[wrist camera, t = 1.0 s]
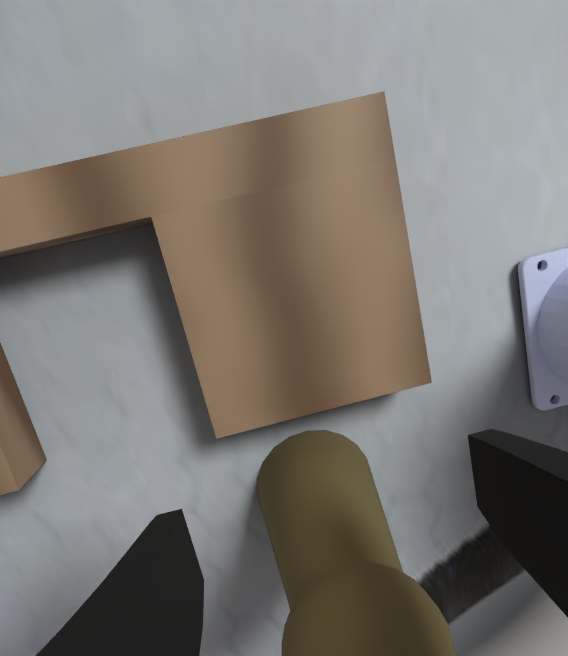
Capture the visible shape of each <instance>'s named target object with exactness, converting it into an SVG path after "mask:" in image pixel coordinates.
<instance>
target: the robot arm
mask: <svg viewBox="0 0 568 656" xmlns="http://www.w3.org/2000/svg"><path fill="white" fill-rule="evenodd" d="M539 261H541V263H542V266H541V268H540V269H539V270H538V268H537V264H538V263H539ZM518 276H519V285H520V294H521V303H522V313H523V322H524V331H525V340H526V350H527V359H528V368H529V377H530V387H531V396H532V403H533V405H534V406H535V407H536V408H537V409H539V410H542V411H546V410H550V409H554V408H557V407H561V406H565V405H568V247H567V248H563V249H559V250H555V251H551V252H547V253H543V254H539V255H535V256H531V257H527V258H525V259H523V260H522V261H521V262H520V263H519V266H518ZM553 395H554V399H553V400H552V401H550V399H551V397H552V396H553ZM468 440H469V447H470V454H471V462H472V469H473V477H474V484H475V491H476V499H477V506H478V508H479V510H480V511H481V513H482V514H483V516H484V517H485V519H486V520H487V522H488V523H489V524H490V526H491V527H492V529H493V530H494V532H495V533H496V534H497V536H498V537H499V539H500V540H501V541H502V543H503V544H504V545H505V547H506V548H507V549H508V550H509V551H510V552H511V554H512V555H513V556H514V557H515V558H516V559H517V560H518V562H519V563H520V564H521V565H522V566H523V567H524V568H525V570H526V571H527V572H528V573H529V574H530V575H531V576H532V577H533V579H534V580H535V581H536V582H537V583H538V584H539V585H540V587H541V588H542V589H543V590H544V591H545V592H546V593H547V594H548V596H549V597H550V598H551V599H552V600H553V601H554V602H555V603H556V605H557V606H558V607H559V608H560V609H561V610H562V611H563V612H564V614H565V615H566V616H567V617H568V452H565V451H562V450H559V449H556V448H553V447H550V446H547V445H544V444H540V443H537V442H534V441H531V440H528V439H525V438H522V437H519V436H515V435H512V434H509V433H505V432H501V431H497V430H493V429H490V430H486V431H482V432H478V433H474V434H470V435H468ZM203 606H204V579H203V575H202V572H201V569H200V566H199V563H198V559H197V556H196V553H195V550H194V547H193V543H192V540H191V537H190V534H189V531H188V527H187V524H186V521H185V518H184V515H183V511H182V509H179V510H175V511H171V512H167V513H163V514H160V515H156V517H155V518H154V519H153V520H152V521H151V522H150V523H149V525H148V526H147V527H146V528H145V530H144V531H143V532H142V533H141V535H140V536H139V537H138V538H137V540H136V541H135V542H134V543H133V545H132V546H131V547H130V548H129V550H128V551H127V552H126V554H125V555H124V556H123V557H122V558H121V560H120V561H119V562H118V563H117V565H116V566H115V567H114V568H113V570H112V571H111V572H110V573H109V575H108V576H107V577H106V578H105V579H104V581H103V582H102V583H101V584H100V585H99V587H98V588H97V589H96V590H95V591H94V592H93V593H92V595H91V596H90V597H89V598H88V599H87V600H86V601H85V603H84V604H83V605H82V606H81V607H80V608H79V609H78V611H77V612H76V613H75V614H74V615H73V616H72V617H71V619H70V620H69V621H68V622H67V623H66V624H65V625H64V627H63V628H62V629H61V630H60V631H59V632H58V633H57V634H56V635H55V636H54V637H53V638H52V639H51V640H50V641H49V643H48V644H47V645H46V646H45V647H44V648H43V649H42V650H41V651H40V652H39V653H38V654H37V655H36V656H199V651H200V644H201V636H202V628H203Z"/></svg>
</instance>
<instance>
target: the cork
mask: <svg viewBox="0 0 568 656" xmlns="http://www.w3.org/2000/svg"><path fill="white" fill-rule="evenodd" d="M257 495H258V499H259V502H260V506H261V509H262V513H263V516H264V520H265V523H266V527H267V530H268V534H269V537H270V541H271V544H272V547H273V551H274V554H275V558H276V561H277V565H278V568H279V572H280V575H281V579H282V582H283V586H284V589H285V593H286V596H287V600H288V603H289V607H290V613H289V615H288V618H287V621H286V623H285V627H284V633H283V639H282V656H457V655H456V651H455V648H454V644H453V640H452V637H451V633H450V629H449V626H448V624H447V622H446V621H445V619H444V617H443V615H442V613H441V612H440V610H439V608H438V607H437V606H436V604H435V603H434V602H433V601H432V599H431V598H430V597H429V595H428V594H427V593H426V592H425V591H424V589H423V588H422V587H421V586H420V585H419V584H418V583H417V582H416V581H415V580H414V579H412V578H411V577H409V576H408V575H406V574H404V573H403V570H402V567H401V564H400V561H399V558H398V555H397V552H396V548H395V545H394V542H393V539H392V536H391V533H390V530H389V527H388V523H387V520H386V517H385V514H384V511H383V508H382V505H381V501H380V498H379V495H378V492H377V489H376V486H375V483H374V480H373V476H372V473H371V470H370V467H369V464H368V461H367V458H366V456H365V455H364V454H363V452H362V451H361V450H360V448H359V447H358V446H357V444H355V443H354V442H352V441H351V440H349V439H348V438H346V437H345V436H343V435H341V434H337V433H334V432H330V431H326V430H319V431H305V432H302V433H299V434H296V435H293V436H290V437H288V438H287V439H286V440H284V441H283V442H281V443H280V444H279V445H277V446H276V447H274V448H273V450H272V451H271V452H270V454H269V455H268V456H267V458H266V459H265V460H264V461H263V464H262V467H261V470H260V472H259V475H258V478H257Z"/></svg>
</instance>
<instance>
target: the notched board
mask: <svg viewBox="0 0 568 656" xmlns="http://www.w3.org/2000/svg"><path fill="white" fill-rule="evenodd" d="M150 223H153V224H154V228H155V231H156V235H157V238H158V242H159V245H160V248H161V252H162V255H163V259H164V262H165V265H166V269H167V272H168V276H169V279H170V282H171V286H172V289H173V293H174V296H175V300H176V303H177V306H178V310H179V313H180V317H181V320H182V323H183V327H184V330H185V334H186V337H187V341H188V344H189V347H190V351H191V354H192V358H193V361H194V364H195V368H196V371H197V375H198V378H199V381H200V385H201V388H202V392H203V395H204V399H205V402H206V405H207V409H208V412H209V416H210V419H211V422H212V426H213V429H214V433H215V436H216V439H217V438H221V437H225V436H229V435H233V434H237V433H240V432H244V431H248V430H252V429H256V428H260V427H263V426H267V425H271V424H275V423H279V422H283V421H286V420H290V419H294V418H298V417H302V416H306V415H309V414H313V413H317V412H321V411H325V410H329V409H332V408H336V407H340V406H344V405H348V404H352V403H355V402H359V401H363V400H367V399H371V398H375V397H378V396H382V395H386V394H390V393H394V392H398V391H401V390H405V389H409V388H413V387H417V386H421V385H424V384H428V383H432V381H431V375H430V369H429V363H428V357H427V351H426V344H425V338H424V332H423V326H422V320H421V314H420V308H419V302H418V295H417V289H416V283H415V277H414V271H413V265H412V259H411V252H410V246H409V240H408V234H407V228H406V222H405V216H404V210H403V203H402V197H401V191H400V185H399V179H398V173H397V167H396V160H395V154H394V148H393V142H392V136H391V130H390V124H389V118H388V111H387V105H386V99H385V93H384V92H380V93H375V94H371V95H366V96H362V97H357V98H353V99H349V100H344V101H340V102H335V103H331V104H326V105H322V106H317V107H313V108H308V109H304V110H299V111H295V112H290V113H286V114H281V115H277V116H273V117H268V118H264V119H259V120H255V121H250V122H246V123H241V124H237V125H232V126H228V127H223V128H219V129H214V130H210V131H205V132H201V133H197V134H192V135H188V136H183V137H179V138H174V139H170V140H165V141H161V142H156V143H152V144H147V145H143V146H138V147H134V148H129V149H125V150H121V151H116V152H112V153H107V154H103V155H98V156H94V157H89V158H85V159H80V160H76V161H71V162H67V163H62V164H58V165H54V166H49V167H45V168H40V169H36V170H31V171H27V172H22V173H18V174H13V175H9V176H4V177H0V258H5V257H9V256H13V255H17V254H22V253H26V252H30V251H35V250H39V249H43V248H47V247H52V246H56V245H60V244H65V243H69V242H73V241H77V240H82V239H86V238H90V237H95V236H99V235H103V234H107V233H112V232H116V231H120V230H125V229H129V228H133V227H137V226H142V225H146V224H150ZM45 461H46V457H45V455H44V452H43V450H42V447H41V445H40V442H39V440H38V437H37V435H36V432H35V429H34V427H33V424H32V422H31V419H30V417H29V414H28V412H27V409H26V407H25V404H24V402H23V399H22V397H21V394H20V392H19V389H18V387H17V384H16V381H15V379H14V376H13V374H12V371H11V369H10V366H9V364H8V361H7V359H6V356H5V354H4V351H3V349H2V346H1V344H0V495H3V494H7V493H11V492H14V491H18V490H20V489H21V488H22V486H23V485H24V484H25V483H26V482H27V481H28V480H29V479H30V478H31V477H32V476H33V474H34V473H35V472H36V471H37V470H38V469H39V468H40V467H41V466H42V465H43V464H44V462H45Z"/></svg>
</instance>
